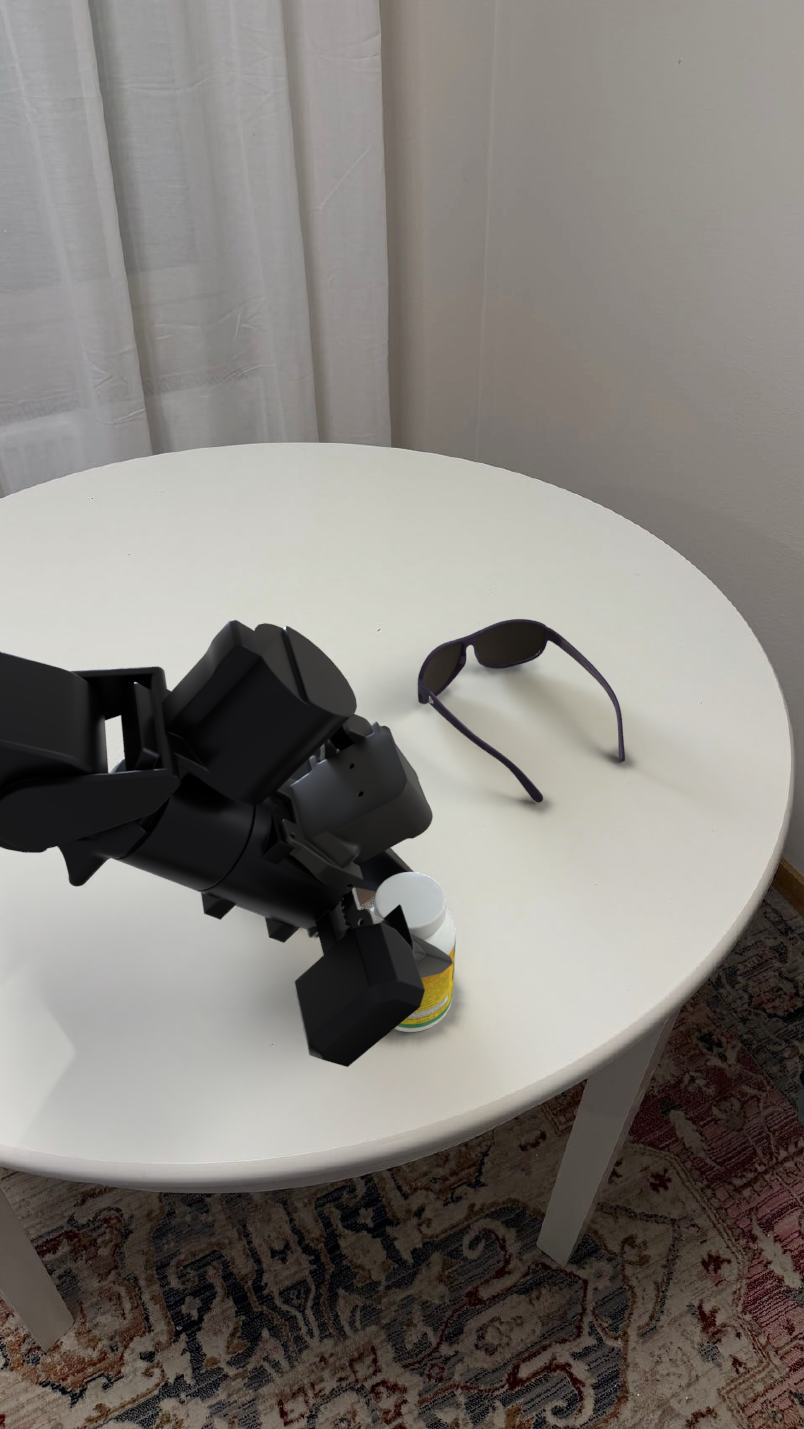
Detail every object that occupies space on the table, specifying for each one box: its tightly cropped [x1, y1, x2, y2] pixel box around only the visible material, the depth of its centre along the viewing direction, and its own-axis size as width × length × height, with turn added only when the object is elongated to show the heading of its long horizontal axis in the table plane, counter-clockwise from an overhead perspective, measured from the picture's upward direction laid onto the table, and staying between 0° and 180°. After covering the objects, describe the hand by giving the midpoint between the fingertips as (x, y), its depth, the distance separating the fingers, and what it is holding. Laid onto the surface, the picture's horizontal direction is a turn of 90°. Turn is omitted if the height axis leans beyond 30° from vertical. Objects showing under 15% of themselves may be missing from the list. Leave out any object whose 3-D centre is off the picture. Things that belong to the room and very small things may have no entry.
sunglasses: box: [417, 618, 626, 804], centre depth 80 cm, size 14×16×5 cm
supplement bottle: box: [370, 871, 457, 1033], centre depth 59 cm, size 5×5×10 cm
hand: (432, 926), depth 58 cm, fingers closed on supplement bottle, 5 cm apart
